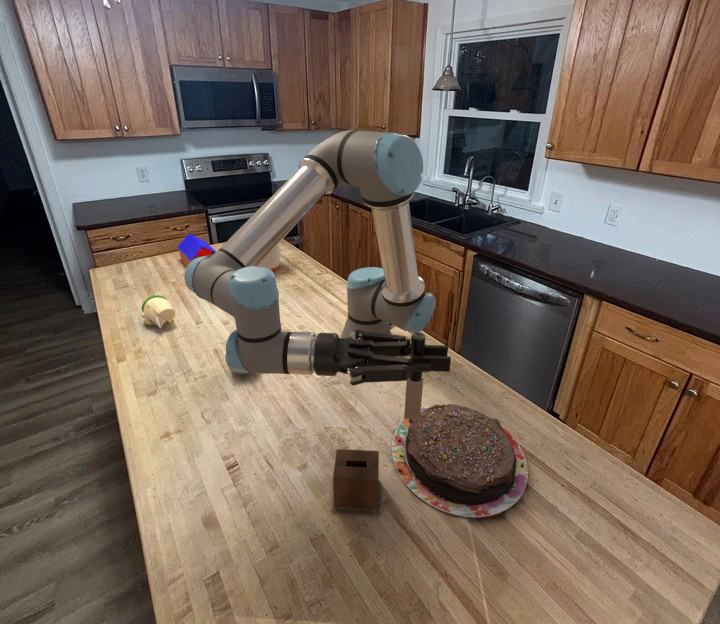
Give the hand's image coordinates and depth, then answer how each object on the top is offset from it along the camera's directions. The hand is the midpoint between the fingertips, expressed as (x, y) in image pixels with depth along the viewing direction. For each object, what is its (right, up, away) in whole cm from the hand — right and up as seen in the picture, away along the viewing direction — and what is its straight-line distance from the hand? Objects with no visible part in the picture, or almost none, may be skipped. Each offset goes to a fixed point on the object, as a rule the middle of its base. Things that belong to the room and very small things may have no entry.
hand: (448, 358), depth 68 cm
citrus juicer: (-58, +16, +100) cm, 117 cm away
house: (-87, +19, +105) cm, 138 cm away
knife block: (-16, -28, +6) cm, 33 cm away
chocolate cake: (+5, -24, +14) cm, 29 cm away
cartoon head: (-84, -1, +63) cm, 105 cm away
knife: (-5, -13, +6) cm, 16 cm away
